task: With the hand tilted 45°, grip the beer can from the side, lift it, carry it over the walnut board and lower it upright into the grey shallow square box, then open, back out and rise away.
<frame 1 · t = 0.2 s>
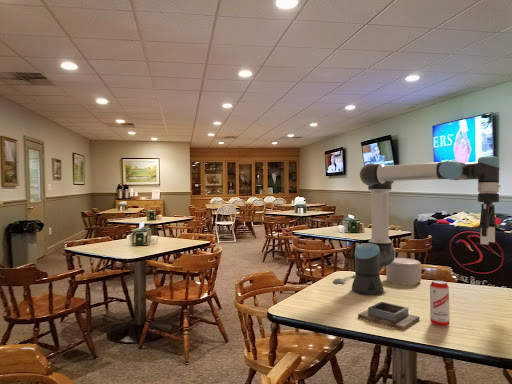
hand: (487, 243, 146), 28 cm above the table, tool pointing down, fingers open, 13 cm apart
soupspoon: (345, 281, 195), on the table
container: (403, 281, 193), on the table
beer can: (439, 325, 128), on the table
keeper board: (388, 319, 134), on the table
grey shallow square box: (388, 315, 134), resting on keeper board
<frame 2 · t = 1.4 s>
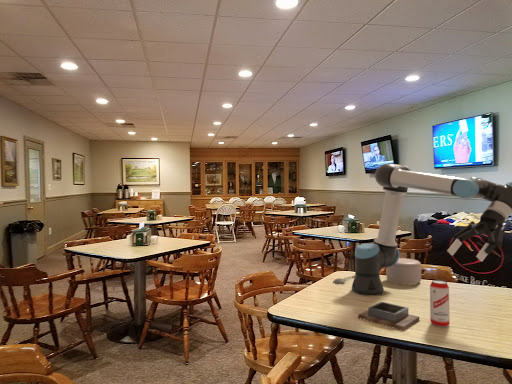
hand: (463, 256, 130), 25 cm above the table, tool tilted 45°, fingers open, 13 cm apart
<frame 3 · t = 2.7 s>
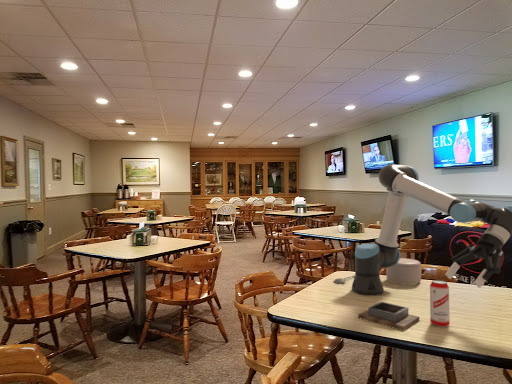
hand: (461, 280, 129), 16 cm above the table, tool tilted 45°, fingers open, 13 cm apart
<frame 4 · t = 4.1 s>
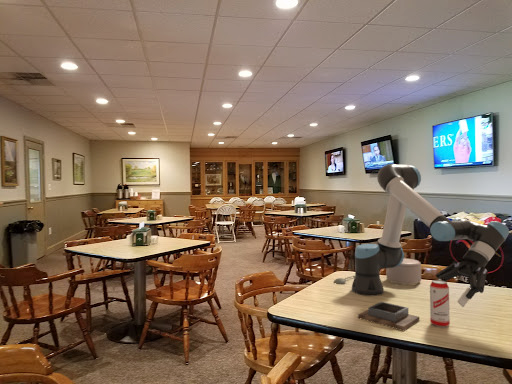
hand: (445, 298, 127), 10 cm above the table, tool tilted 45°, fingers open, 13 cm apart
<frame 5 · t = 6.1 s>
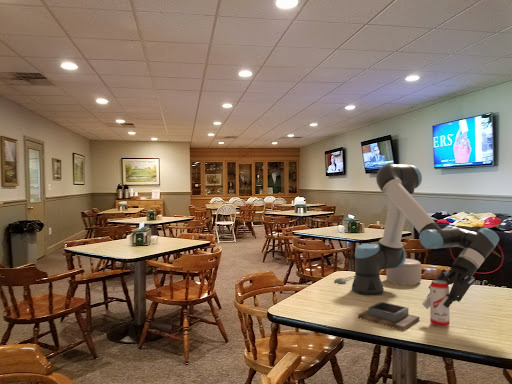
hand: (431, 309, 127), 6 cm above the table, tool tilted 45°, fingers closed on beer can, 6 cm apart
beer can: (439, 325, 127), on the table, touching gripper
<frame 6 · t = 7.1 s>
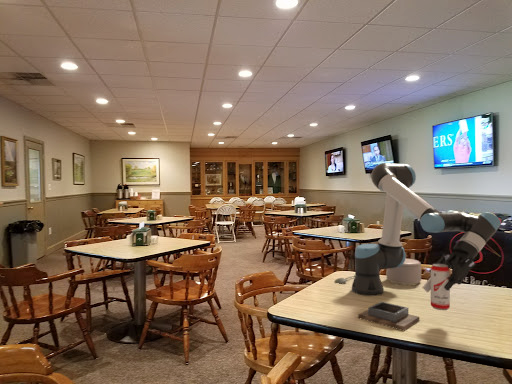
hand: (431, 292, 127), 12 cm above the table, tool tilted 45°, fingers closed on beer can, 6 cm apart
beer can: (440, 308, 127), point 6 cm above the table, touching gripper
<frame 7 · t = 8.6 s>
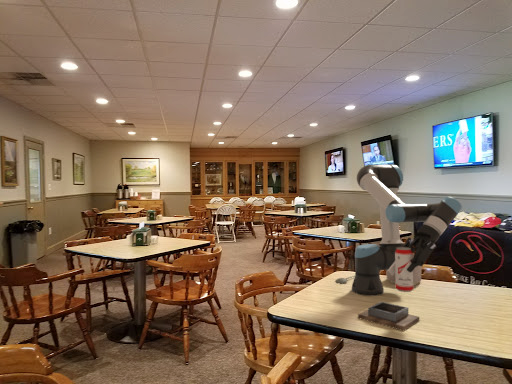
hand: (395, 275, 130), 18 cm above the table, tool tilted 45°, fingers closed on beer can, 6 cm apart
beer can: (404, 290, 131), point 12 cm above the table, touching gripper
when the fingers open (9 cm above the table, at t = 11.5 s): beer can drops 1 cm, resting on keeper board.
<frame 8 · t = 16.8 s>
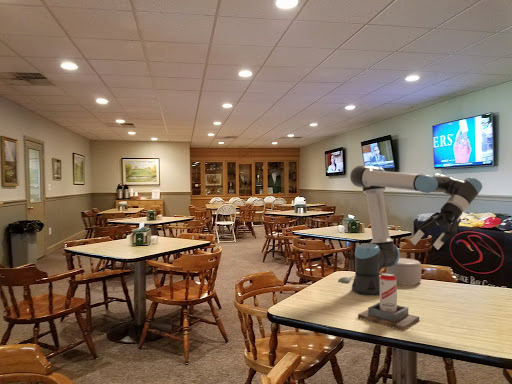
hand: (423, 245, 141), 28 cm above the table, tool tilted 45°, fingers open, 13 cm apart
soupspoon: (351, 280, 198), on the table
beer can: (388, 315, 134), point 1 cm above the table, touching keeper board
everything else where it was.
at the end: beer can 0.2 cm off-centre on the keeper board, point 1.3 cm above the keeper board's base; beer can tilted 0°; the gripper is holding nothing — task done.
